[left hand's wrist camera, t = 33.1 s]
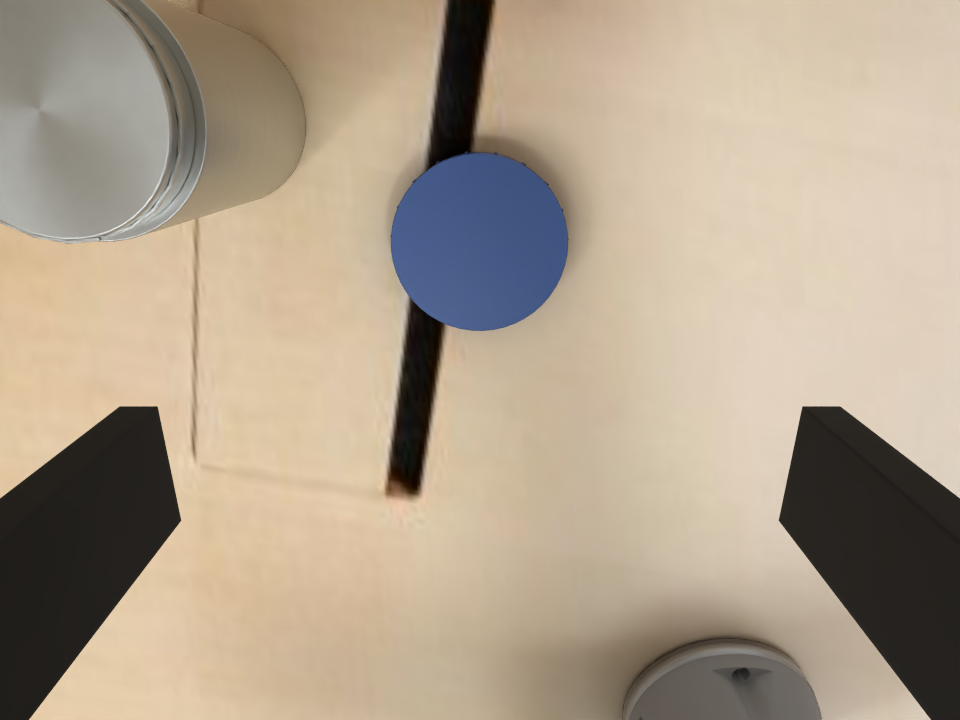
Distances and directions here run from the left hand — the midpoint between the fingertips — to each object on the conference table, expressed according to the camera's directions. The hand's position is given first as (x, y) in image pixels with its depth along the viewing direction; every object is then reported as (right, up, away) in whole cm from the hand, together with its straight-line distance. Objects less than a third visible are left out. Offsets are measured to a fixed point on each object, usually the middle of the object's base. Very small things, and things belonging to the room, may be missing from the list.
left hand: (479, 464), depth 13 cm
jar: (-14, +16, +22) cm, 31 cm away
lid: (0, +9, +22) cm, 24 cm away
